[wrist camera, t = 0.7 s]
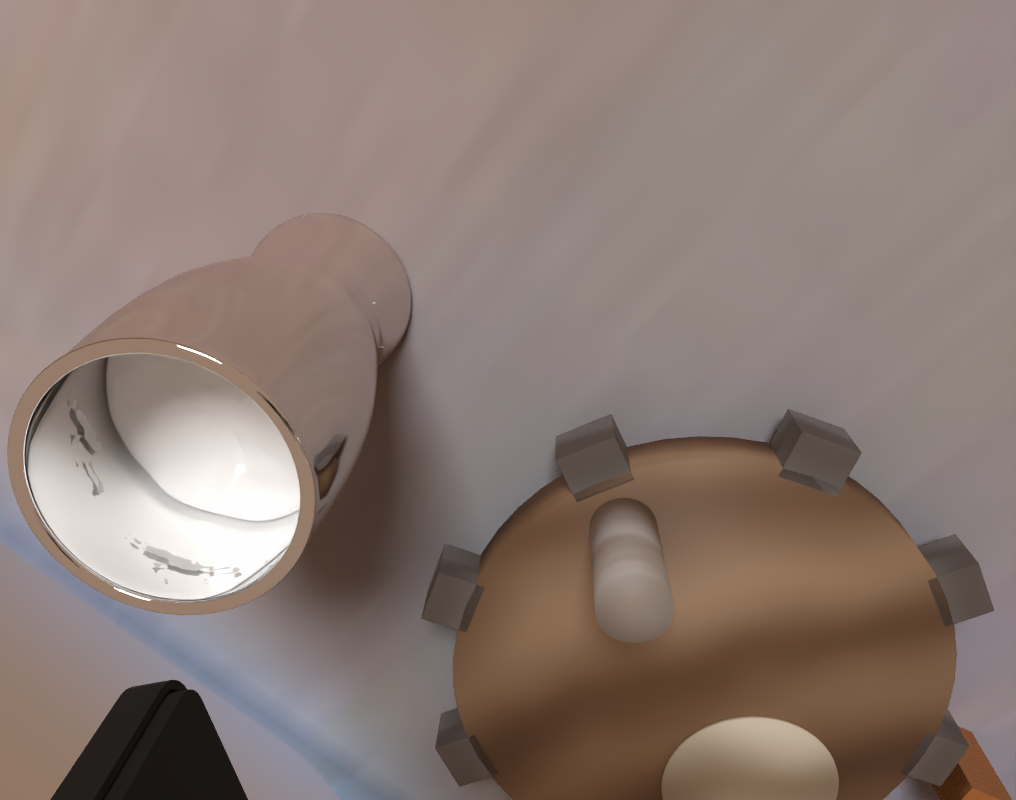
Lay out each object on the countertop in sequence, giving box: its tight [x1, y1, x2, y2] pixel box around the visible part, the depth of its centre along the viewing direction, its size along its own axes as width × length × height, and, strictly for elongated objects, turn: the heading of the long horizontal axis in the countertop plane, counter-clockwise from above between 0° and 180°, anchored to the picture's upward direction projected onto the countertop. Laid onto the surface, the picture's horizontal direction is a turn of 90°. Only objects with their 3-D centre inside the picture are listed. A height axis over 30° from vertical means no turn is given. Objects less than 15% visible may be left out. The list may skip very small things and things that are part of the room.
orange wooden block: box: [932, 727, 1012, 800], centre depth 35 cm, size 19×12×4 cm, turn 82°
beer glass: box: [7, 213, 411, 615], centre depth 26 cm, size 7×7×15 cm
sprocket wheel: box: [421, 409, 994, 800], centre depth 33 cm, size 22×22×7 cm
